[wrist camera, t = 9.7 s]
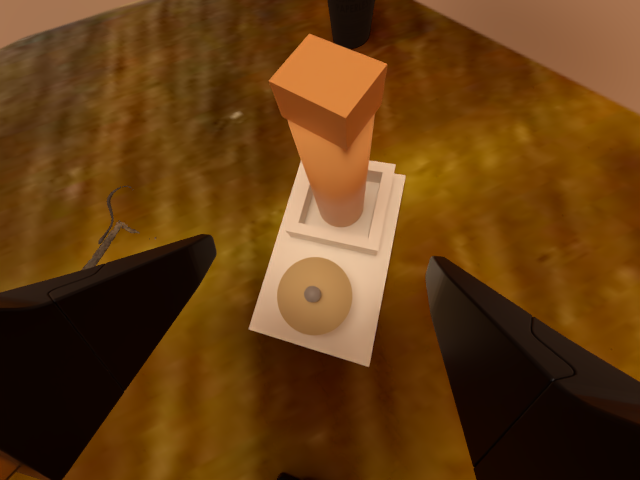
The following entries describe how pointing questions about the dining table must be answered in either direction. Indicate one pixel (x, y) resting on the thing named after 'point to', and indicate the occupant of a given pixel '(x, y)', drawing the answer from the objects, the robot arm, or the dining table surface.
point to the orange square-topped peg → (331, 121)
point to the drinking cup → (350, 21)
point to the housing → (331, 270)
